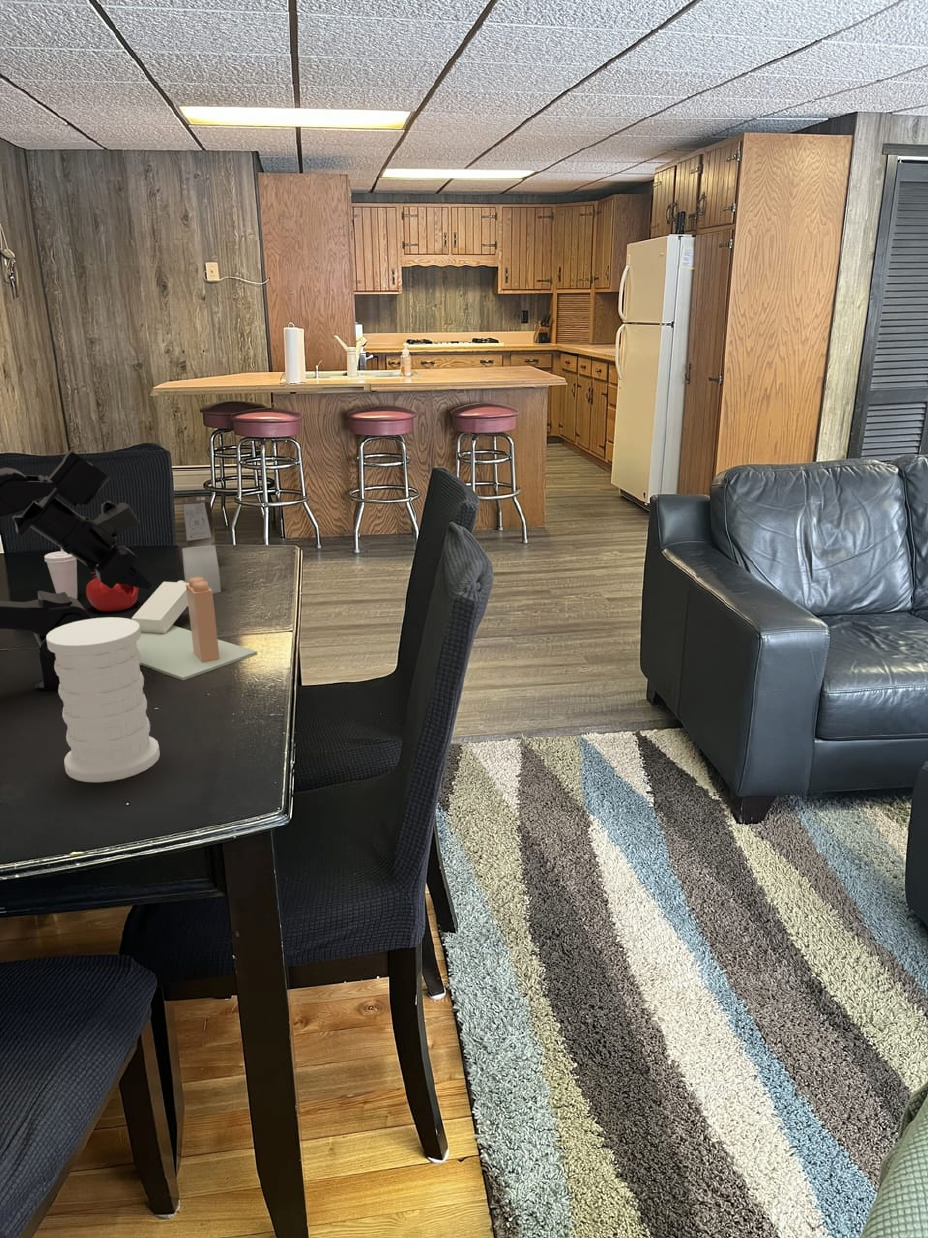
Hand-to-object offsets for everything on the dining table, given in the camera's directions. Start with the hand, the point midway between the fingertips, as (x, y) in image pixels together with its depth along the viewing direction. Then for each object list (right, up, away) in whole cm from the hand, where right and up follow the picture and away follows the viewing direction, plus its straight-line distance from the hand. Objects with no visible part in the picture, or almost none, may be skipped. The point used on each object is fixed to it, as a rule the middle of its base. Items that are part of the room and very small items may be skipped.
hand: (150, 587), depth 145 cm
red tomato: (-20, -3, +36) cm, 41 cm away
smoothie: (-32, -1, +42) cm, 53 cm away
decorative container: (+6, -24, -29) cm, 38 cm away
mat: (-1, -11, +11) cm, 16 cm away
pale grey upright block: (-5, 0, +46) cm, 46 cm away
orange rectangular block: (+7, -11, +7) cm, 15 cm away
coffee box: (-11, +7, +68) cm, 69 cm away
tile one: (-7, -7, +18) cm, 20 cm away
